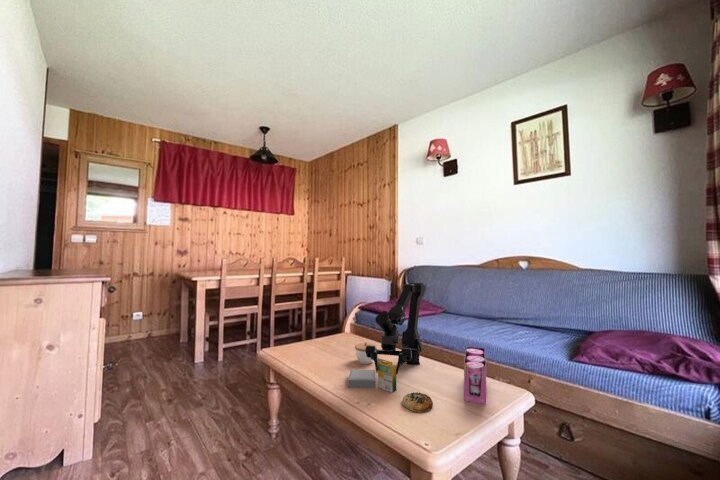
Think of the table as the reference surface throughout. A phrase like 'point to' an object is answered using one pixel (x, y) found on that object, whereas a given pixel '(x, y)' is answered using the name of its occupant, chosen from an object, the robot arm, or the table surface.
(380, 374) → the crayon box
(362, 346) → the lidded jar
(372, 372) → the tray
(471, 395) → the pink product box
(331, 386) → the table surface
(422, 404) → the bread roll
